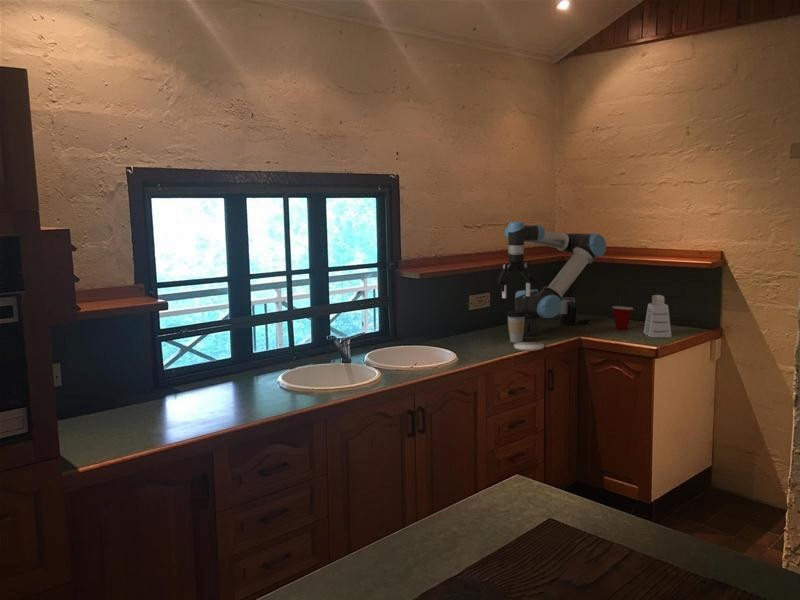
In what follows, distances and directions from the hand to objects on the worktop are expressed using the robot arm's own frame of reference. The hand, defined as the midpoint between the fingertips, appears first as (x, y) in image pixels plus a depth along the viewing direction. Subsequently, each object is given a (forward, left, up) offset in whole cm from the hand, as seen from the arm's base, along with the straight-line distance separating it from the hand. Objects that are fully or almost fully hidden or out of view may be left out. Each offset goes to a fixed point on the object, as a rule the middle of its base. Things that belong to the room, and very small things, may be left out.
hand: (516, 297), depth 337 cm
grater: (+51, +52, -22) cm, 76 cm away
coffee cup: (0, 0, -22) cm, 22 cm away
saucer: (+12, -9, -22) cm, 27 cm away
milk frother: (+2, +60, -22) cm, 64 cm away
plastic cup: (+30, +59, -22) cm, 70 cm away
